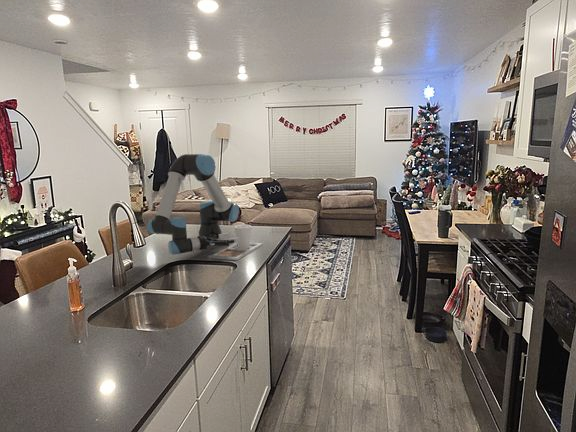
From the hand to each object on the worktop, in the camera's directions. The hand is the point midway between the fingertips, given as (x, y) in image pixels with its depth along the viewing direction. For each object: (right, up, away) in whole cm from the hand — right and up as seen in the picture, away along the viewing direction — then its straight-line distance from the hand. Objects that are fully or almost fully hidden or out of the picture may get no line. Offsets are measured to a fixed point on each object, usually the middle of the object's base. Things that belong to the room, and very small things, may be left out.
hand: (234, 237), depth 221 cm
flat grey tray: (+2, -8, -2) cm, 8 cm away
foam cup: (+5, -7, +5) cm, 10 cm away
